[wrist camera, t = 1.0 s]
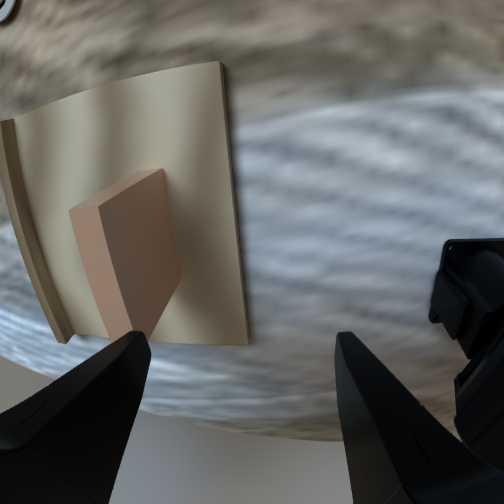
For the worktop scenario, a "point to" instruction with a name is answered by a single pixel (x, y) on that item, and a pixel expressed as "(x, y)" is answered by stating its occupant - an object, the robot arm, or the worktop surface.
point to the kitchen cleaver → (6, 9)
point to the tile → (128, 252)
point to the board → (114, 170)
